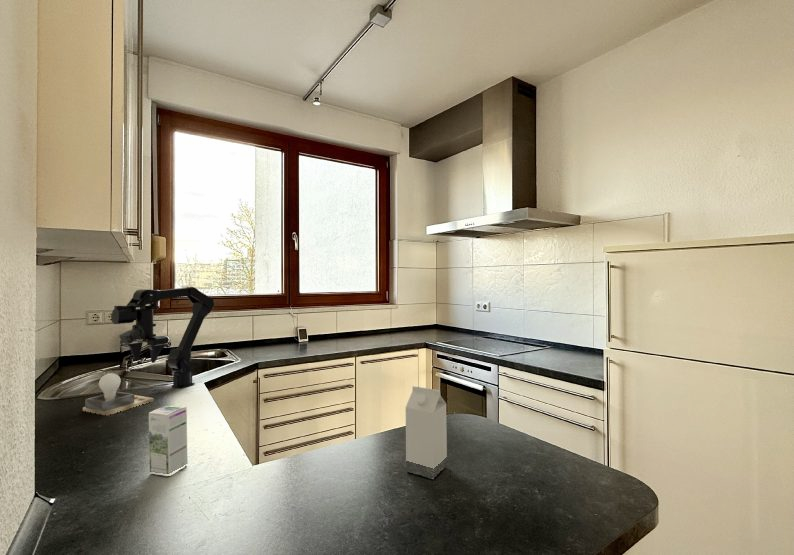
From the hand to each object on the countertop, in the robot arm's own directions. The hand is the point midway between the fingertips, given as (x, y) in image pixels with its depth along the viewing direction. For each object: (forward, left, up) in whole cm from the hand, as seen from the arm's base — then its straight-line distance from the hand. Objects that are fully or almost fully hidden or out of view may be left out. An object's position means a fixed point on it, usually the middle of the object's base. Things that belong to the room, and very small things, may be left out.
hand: (144, 361), depth 150 cm
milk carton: (+15, +120, -13) cm, 122 cm away
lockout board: (+12, +4, -13) cm, 18 cm away
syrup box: (+38, +64, -13) cm, 76 cm away
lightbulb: (+15, +4, -12) cm, 20 cm away
